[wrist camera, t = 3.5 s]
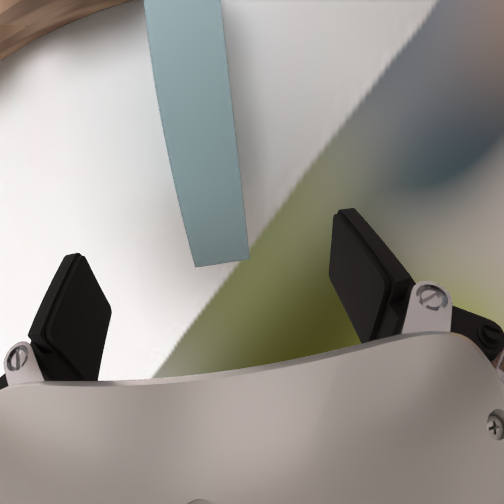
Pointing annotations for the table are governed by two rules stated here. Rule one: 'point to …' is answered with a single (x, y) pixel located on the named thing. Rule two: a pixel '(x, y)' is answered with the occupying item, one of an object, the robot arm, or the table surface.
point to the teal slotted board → (199, 125)
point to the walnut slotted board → (41, 19)
